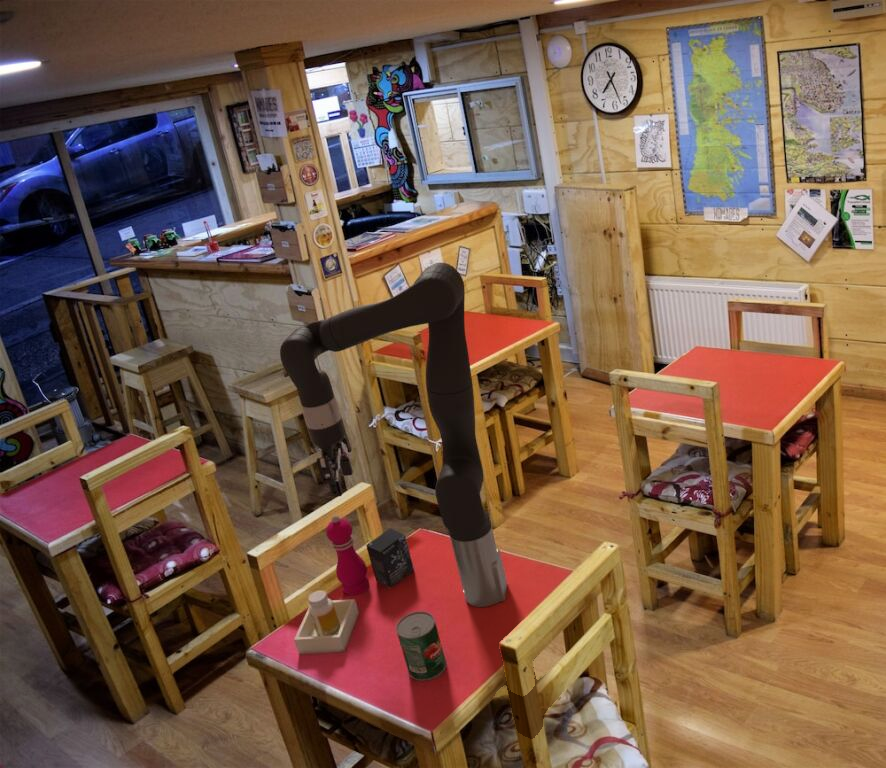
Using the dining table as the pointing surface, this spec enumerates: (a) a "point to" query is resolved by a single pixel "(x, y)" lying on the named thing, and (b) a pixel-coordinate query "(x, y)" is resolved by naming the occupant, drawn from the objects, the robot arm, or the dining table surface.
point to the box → (390, 557)
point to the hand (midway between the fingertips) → (343, 484)
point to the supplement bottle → (323, 614)
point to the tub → (313, 643)
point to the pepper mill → (347, 557)
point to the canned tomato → (421, 645)
